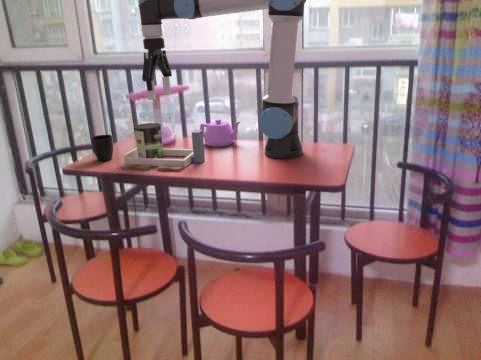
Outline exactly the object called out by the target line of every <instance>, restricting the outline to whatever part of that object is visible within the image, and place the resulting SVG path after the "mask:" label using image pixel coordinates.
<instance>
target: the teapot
mask: <svg viewBox="0 0 481 360" xmlns="http://www.w3.org/2000/svg"><path fill="white" fill-rule="evenodd" d="M240 123H241V121H236V122H235V123H234V125H233V127H232V126H231V124H230V122H228V121H224V120H223V121H222V119H221V118H217V119H215V120H214V121H211V122H210V123H205V122H201V123H200V126H199V130H203V142H204V144H206V146H208V147H213V148H214V147H216V148H217V147H219V148H221V147H222V148H223V147H228V146H230V145H231V144H233V143H234V141H235V138H236V137H237V136H238V132H239V131H238V127H239V124H240ZM205 128H206V129H205Z"/></svg>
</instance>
